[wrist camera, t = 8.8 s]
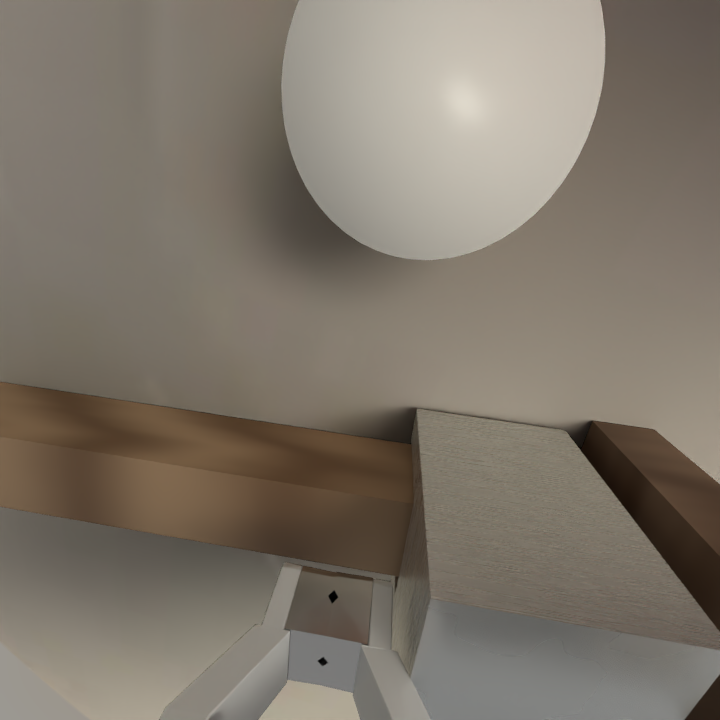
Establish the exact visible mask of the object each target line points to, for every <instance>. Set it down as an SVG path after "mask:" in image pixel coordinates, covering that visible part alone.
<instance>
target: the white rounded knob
mask: <svg viewBox="0 0 720 720" xmlns="http://www.w3.org/2000/svg"><path fill="white" fill-rule="evenodd" d="M604 67H605V28H604V20H603V12H602V6H601V2H600V0H299V2H298V4H297V7H296V9H295V12H294V15H293V18H292V22H291V25H290V29H289V32H288V36H287V41H286V47H285V52H284V58H283V68H282V81H281V91H282V111H283V118H284V125H285V132H286V135H287V139H288V143H289V147H290V151H291V154H292V157H293V159H294V162H295V165H296V167H297V170H298V172H299V174H300V176H301V178H302V180H303V182H304V184H305V186H306V188H307V190H308V191H309V193H310V194H311V196H312V197H313V199H314V200H315V202H316V203H317V204H318V206H319V207H320V208H321V209H322V210H323V212H324V213H325V214H326V215H327V216H328V217H329V218H330V220H331V221H332V222H334V223H335V224H336V225H337V226H338V227H339V228H340V229H342V230H343V231H344V232H345V233H346V234H348V235H349V236H351V237H352V238H354V239H355V240H357V241H358V242H360V243H362V244H364V245H366V246H368V247H370V248H372V249H374V250H376V251H379V252H382V253H385V254H388V255H391V256H395V257H400V258H405V259H413V260H438V259H448V258H452V257H457V256H462V255H466V254H468V253H471V252H474V251H477V250H480V249H483V248H485V247H487V246H489V245H491V244H493V243H495V242H497V241H499V240H501V239H502V238H504V237H505V236H507V235H509V234H510V233H512V232H513V231H515V230H516V229H518V228H519V227H520V226H521V225H523V224H524V223H525V222H526V221H527V220H529V219H530V218H531V217H532V216H533V215H535V214H536V213H537V212H538V211H539V209H540V208H541V207H542V206H543V205H544V204H545V203H546V202H547V201H548V200H549V199H550V198H551V197H552V195H553V194H554V193H555V192H556V190H557V189H558V188H559V186H560V185H561V184H562V182H563V181H564V180H565V178H566V177H567V175H568V173H569V172H570V170H571V168H572V167H573V165H574V164H575V162H576V160H577V158H578V156H579V154H580V152H581V150H582V148H583V146H584V144H585V142H586V140H587V138H588V135H589V132H590V129H591V126H592V123H593V121H594V118H595V115H596V112H597V107H598V103H599V99H600V95H601V90H602V84H603V76H604Z"/></svg>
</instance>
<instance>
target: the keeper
mask: <svg viewBox="0 0 720 720" xmlns="http://www.w3.org/2000/svg"><path fill="white" fill-rule="evenodd" d="M411 441H412V467H413V492H414V505H413V510H412V514H411V519H410V524H409V529H408V534H407V539H406V544H405V549H404V553H403V558H402V563H401V568H400V573H399V576H393V575H391V582H392V584H393V611H392V649H391V650H393V651H397V652H398V654H399V656H400V658H401V660H402V662H403V664H404V666H405V668H406V670H407V672H408V674H409V676H410V679H411V680H412V682H413V684H414V686H415V688H416V690H417V692H418V694H419V696H420V698H421V701H422V703H423V705H424V707H425V709H426V711H427V713H428V715H429V717H430V719H431V720H685V718H686V717H687V716H688V714H689V713H690V712H691V711H692V709H693V708H694V707H695V705H696V704H697V703H698V702H699V700H700V699H701V698H702V696H703V695H704V694H705V693H706V691H707V690H708V689H709V687H710V686H711V685H712V684H713V682H714V681H715V680H716V678H717V677H718V676H719V675H720V632H719V630H718V629H717V628H716V626H715V625H714V624H713V623H712V621H711V620H710V619H709V617H708V616H707V615H706V613H705V612H704V611H703V609H702V608H701V607H700V606H699V604H698V603H697V602H696V600H695V599H694V598H693V596H692V595H691V594H690V593H689V591H688V590H687V589H686V587H685V586H684V585H683V583H682V582H681V581H680V580H679V578H678V577H677V576H676V574H675V573H674V572H673V570H672V569H671V568H670V566H669V565H668V564H667V563H666V561H665V560H664V559H663V557H662V556H661V555H660V553H659V552H658V551H657V550H656V548H655V547H654V546H653V544H652V543H651V542H650V540H649V539H648V538H647V536H646V535H645V534H644V533H643V531H642V530H641V529H640V527H639V526H638V525H637V523H636V522H635V521H634V520H633V518H632V517H631V516H630V514H629V513H628V512H627V510H626V509H625V508H624V506H623V505H622V504H621V503H620V501H619V500H618V499H617V497H616V496H615V495H614V493H613V492H612V491H611V490H610V488H609V487H608V486H607V484H606V483H605V482H604V480H603V479H602V478H601V477H600V475H599V474H598V473H597V471H596V470H595V469H594V467H593V466H592V465H591V463H590V462H589V461H588V460H587V458H586V457H585V456H584V454H583V453H582V452H581V450H580V449H579V448H578V447H577V445H576V444H575V443H574V441H573V440H572V439H571V437H570V436H569V435H568V433H567V432H566V431H565V430H560V429H553V428H546V427H539V426H532V425H525V424H519V423H512V422H505V421H498V420H491V419H484V418H477V417H471V416H464V415H457V414H450V413H443V412H436V411H429V410H423V409H417V410H416V416H415V421H414V426H413V432H412V437H411Z"/></svg>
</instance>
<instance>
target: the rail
mask: <svg viewBox="0 0 720 720" xmlns="http://www.w3.org/2000/svg"><path fill="white" fill-rule="evenodd" d="M581 452H582V453H583V454H584V456H585V457H586V458H587V460H588V461H589V462H590V463H591V465H592V466H593V467H594V469H595V470H596V471H597V473H598V474H599V475H600V477H601V478H602V479H603V480H604V482H605V483H606V484H607V486H608V487H609V488H610V490H611V491H612V492H613V493H614V495H615V496H616V497H617V499H618V500H619V501H620V503H621V504H622V505H623V506H624V508H625V509H626V510H627V512H628V513H629V514H630V516H631V517H632V518H633V520H634V521H635V522H636V523H637V525H638V526H639V527H640V529H641V530H642V531H643V533H644V534H645V535H646V536H647V538H648V539H649V540H650V542H651V543H652V544H653V546H654V547H655V548H656V550H657V551H658V552H659V553H660V555H661V556H662V557H663V559H664V560H665V561H666V563H667V564H668V565H669V566H670V568H671V569H672V570H673V572H674V573H675V574H676V576H677V577H678V578H679V580H680V581H681V582H682V583H683V585H684V586H685V587H686V589H687V590H688V591H689V593H690V594H691V595H692V596H693V598H694V599H695V600H696V602H697V603H698V604H699V606H700V607H701V608H702V609H703V611H704V612H705V613H706V615H707V616H708V617H709V619H710V620H711V621H712V623H713V624H714V625H715V626H716V628H717V629H718V630H719V632H720V484H719V483H717V482H716V481H715V480H714V479H713V478H711V477H710V476H709V475H708V474H707V473H705V472H704V471H703V470H702V469H701V468H699V467H698V466H697V465H696V464H695V463H694V462H692V461H691V460H690V459H689V458H688V457H686V456H685V455H684V454H683V453H682V452H680V451H679V450H678V449H677V448H676V447H674V446H673V445H672V444H671V443H670V442H668V441H667V440H666V439H665V438H664V437H663V436H661V435H660V434H659V433H658V432H657V431H655V430H653V429H646V428H639V427H632V426H625V425H619V424H612V423H605V422H598V421H592V423H591V426H590V428H589V431H588V434H587V436H586V439H585V441H584V444H583V446H582V449H581ZM413 505H414V492H413V467H412V444H405V443H399V442H392V441H385V440H379V439H372V438H366V437H359V436H353V435H346V434H339V433H333V432H326V431H320V430H313V429H307V428H300V427H293V426H287V425H280V424H274V423H267V422H261V421H254V420H247V419H241V418H234V417H228V416H221V415H215V414H208V413H201V412H195V411H188V410H182V409H175V408H168V407H162V406H155V405H149V404H142V403H136V402H129V401H122V400H116V399H109V398H103V397H96V396H90V395H83V394H76V393H70V392H63V391H57V390H50V389H44V388H37V387H30V386H24V385H17V384H11V383H4V382H0V507H5V508H11V509H16V510H22V511H28V512H33V513H39V514H45V515H51V516H56V517H62V518H68V519H73V520H79V521H85V522H91V523H96V524H102V525H108V526H113V527H119V528H125V529H131V530H136V531H142V532H148V533H153V534H159V535H165V536H171V537H176V538H182V539H188V540H193V541H199V542H205V543H210V544H216V545H222V546H228V547H233V548H239V549H245V550H250V551H256V552H262V553H268V554H273V555H279V556H285V557H290V558H296V559H302V560H308V561H313V562H319V563H325V564H330V565H336V566H342V567H348V568H353V569H359V570H365V571H370V572H376V573H382V574H388V575H393V576H399V573H400V568H401V563H402V558H403V553H404V549H405V544H406V539H407V534H408V529H409V524H410V519H411V514H412V510H413ZM685 720H720V675H719V676H718V677H717V678H716V680H715V681H714V682H713V684H712V685H711V686H710V687H709V689H708V690H707V691H706V693H705V694H704V695H703V696H702V698H701V699H700V700H699V702H698V703H697V704H696V705H695V707H694V708H693V709H692V711H691V712H690V713H689V714H688V716H687V717H686V718H685Z"/></svg>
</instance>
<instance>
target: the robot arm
mask: <svg viewBox="0 0 720 720" xmlns="http://www.w3.org/2000/svg"><path fill="white" fill-rule="evenodd" d="M392 611H393V584H392V582H391V581H385V580H379V579H373V578H371V577H365V576H359V575H352V574H346V573H340V572H337V573H336V572H331V571H326V570H321V569H317V568H312V567H307V566H302V565H297V564H292V563H286V562H285V563H284V564H283V566H282V568H281V570H280V573H279V576H278V579H277V582H276V585H275V587H274V590H273V593H272V596H271V599H270V602H269V604H268V607H267V610H266V613H265V616H264V619H263V622H262V624H261V625H258V624H255V625H254V626H253V627H252V628H251V629H250V630H249V631H248V632H246V633H245V634H244V635H243V636H242V637H241V638H240V639H239V640H238V641H237V642H236V643H235V644H233V645H232V646H231V647H230V648H229V649H228V650H227V651H226V652H225V653H224V654H223V655H222V656H220V657H219V658H218V659H217V660H216V661H215V662H214V663H213V664H212V665H211V666H210V667H209V668H207V669H206V670H205V671H204V672H203V673H202V674H201V675H200V676H199V677H198V678H197V679H196V680H194V681H193V682H192V683H191V684H190V685H189V686H188V687H187V688H186V689H185V690H184V691H183V692H181V693H180V694H179V695H178V696H177V697H176V698H175V699H174V700H173V701H172V702H171V703H170V704H169V705H167V706H166V707H165V709H164V711H163V713H162V715H161V717H160V719H159V720H258V719H259V718H260V717H261V715H262V714H263V713H264V711H265V710H266V709H267V707H268V706H269V705H270V704H271V702H272V701H273V700H274V698H275V697H276V696H277V695H278V693H279V692H280V691H281V689H282V688H283V687H284V686H285V684H286V683H287V680H293V681H299V682H305V683H311V684H317V685H322V686H326V687H330V688H334V689H339V690H343V691H347V692H351V693H353V697H354V701H355V704H356V707H357V710H358V714H359V717H360V720H431V719H430V717H429V715H428V713H427V711H426V709H425V707H424V705H423V703H422V701H421V698H420V696H419V694H418V692H417V690H416V688H415V686H414V684H413V682H412V680H411V679H410V676H409V674H408V672H407V670H406V668H405V666H404V664H403V662H402V660H401V658H400V656H399V654H398V652H397V651H393V650H391V649H392Z"/></svg>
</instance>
